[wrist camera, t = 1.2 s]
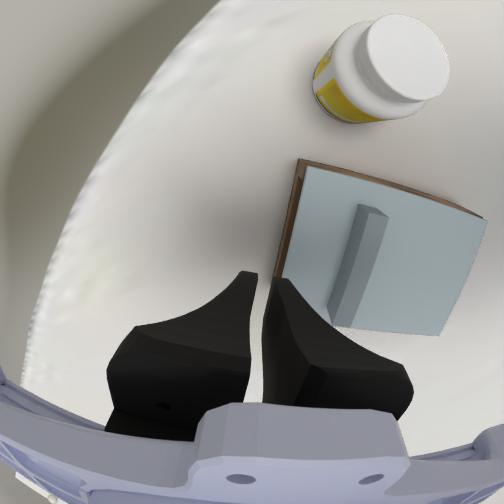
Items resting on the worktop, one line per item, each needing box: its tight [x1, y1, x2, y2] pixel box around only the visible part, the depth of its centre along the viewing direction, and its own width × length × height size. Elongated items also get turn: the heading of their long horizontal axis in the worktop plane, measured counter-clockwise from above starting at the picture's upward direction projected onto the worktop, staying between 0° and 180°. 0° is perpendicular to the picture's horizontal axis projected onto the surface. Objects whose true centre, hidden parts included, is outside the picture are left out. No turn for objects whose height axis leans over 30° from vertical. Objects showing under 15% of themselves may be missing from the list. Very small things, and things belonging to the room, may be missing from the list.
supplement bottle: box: [312, 14, 450, 123], centre depth 13 cm, size 5×5×10 cm
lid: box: [282, 166, 487, 336], centre depth 17 cm, size 14×10×3 cm
